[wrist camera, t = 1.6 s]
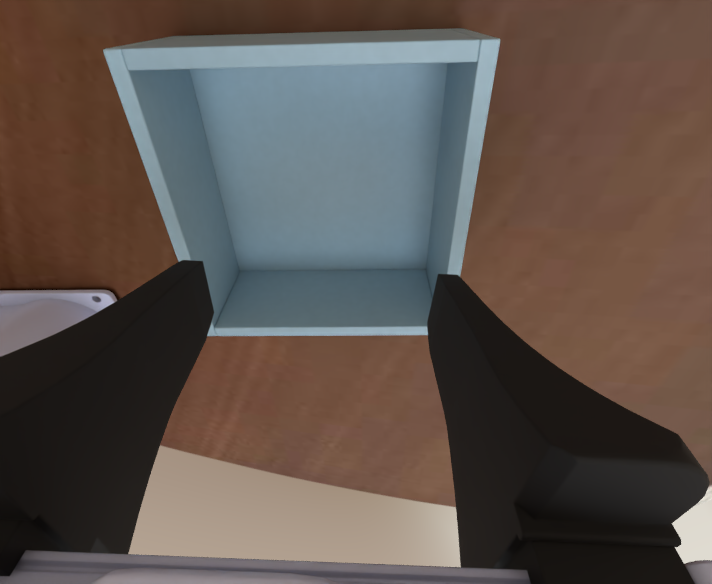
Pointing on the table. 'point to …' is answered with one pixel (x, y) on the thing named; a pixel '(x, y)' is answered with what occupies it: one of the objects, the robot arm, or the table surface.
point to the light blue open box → (313, 168)
